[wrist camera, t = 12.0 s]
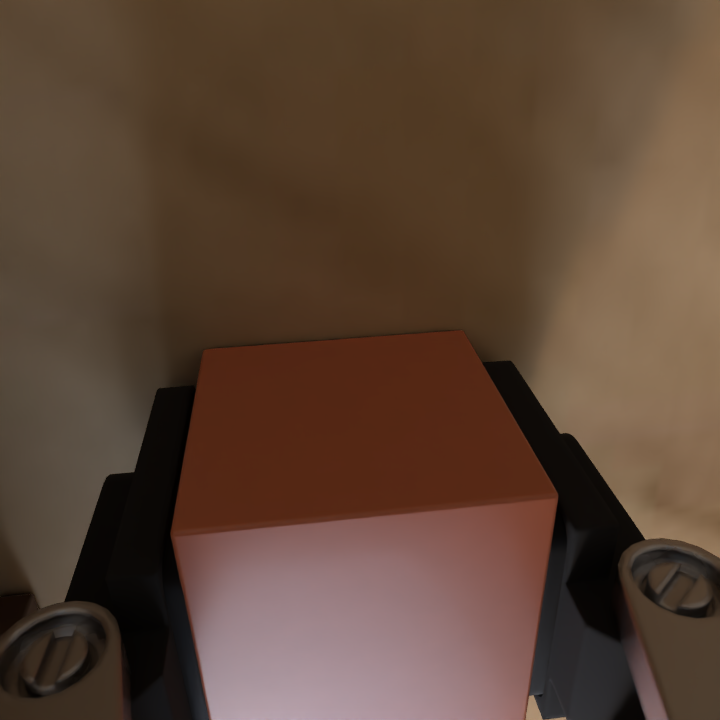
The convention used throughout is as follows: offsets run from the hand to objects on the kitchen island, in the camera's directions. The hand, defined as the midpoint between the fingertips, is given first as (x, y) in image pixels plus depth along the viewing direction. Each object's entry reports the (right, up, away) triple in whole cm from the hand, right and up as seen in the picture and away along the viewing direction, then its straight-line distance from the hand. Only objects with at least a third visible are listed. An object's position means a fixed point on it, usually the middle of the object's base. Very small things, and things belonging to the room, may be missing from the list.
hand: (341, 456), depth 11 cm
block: (0, 0, 0) cm, 0 cm away
